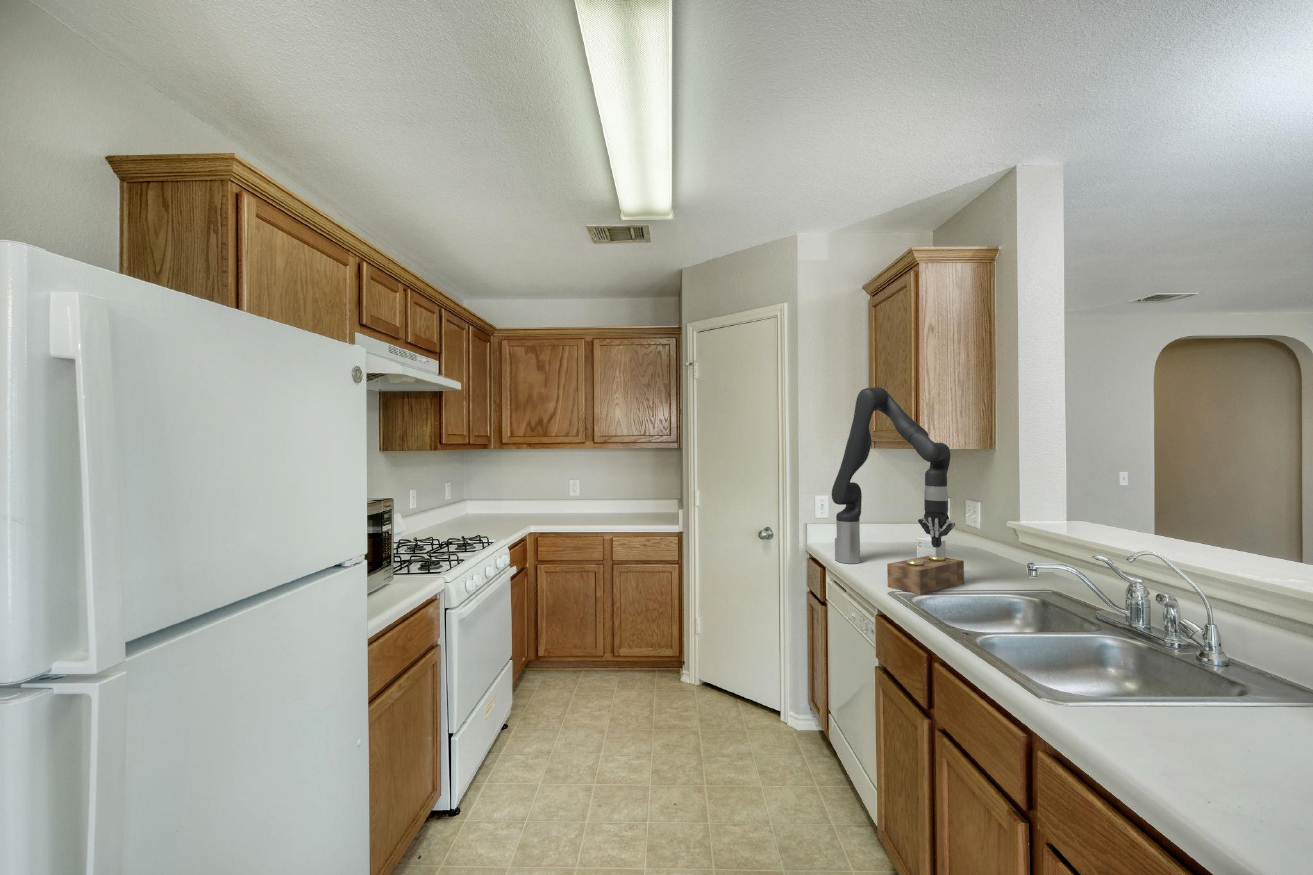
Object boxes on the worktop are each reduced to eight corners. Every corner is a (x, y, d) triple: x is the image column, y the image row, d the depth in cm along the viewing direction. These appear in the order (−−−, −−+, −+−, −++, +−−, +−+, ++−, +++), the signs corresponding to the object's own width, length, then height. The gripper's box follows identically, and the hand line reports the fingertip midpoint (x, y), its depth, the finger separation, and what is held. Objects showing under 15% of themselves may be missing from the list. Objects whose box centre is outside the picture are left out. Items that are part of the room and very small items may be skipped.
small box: (946, 574, 204) (946, 539, 205) (936, 576, 201) (935, 541, 201) (926, 570, 211) (926, 536, 212) (916, 572, 208) (915, 538, 208)
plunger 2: (926, 579, 193) (925, 556, 194) (934, 578, 196) (933, 554, 196) (939, 582, 189) (939, 558, 189) (947, 580, 192) (947, 557, 192)
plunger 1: (903, 585, 187) (903, 560, 187) (912, 583, 189) (912, 559, 189) (917, 588, 182) (917, 563, 182) (926, 586, 185) (925, 561, 185)
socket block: (887, 586, 187) (887, 563, 188) (931, 576, 201) (931, 555, 201) (920, 594, 177) (919, 570, 177) (964, 583, 191) (963, 560, 191)
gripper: (912, 497, 197) (912, 545, 197) (948, 501, 185) (948, 551, 185) (924, 496, 201) (924, 543, 201) (960, 499, 189) (960, 549, 189)
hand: (936, 547), depth 193 cm, fingers closed
